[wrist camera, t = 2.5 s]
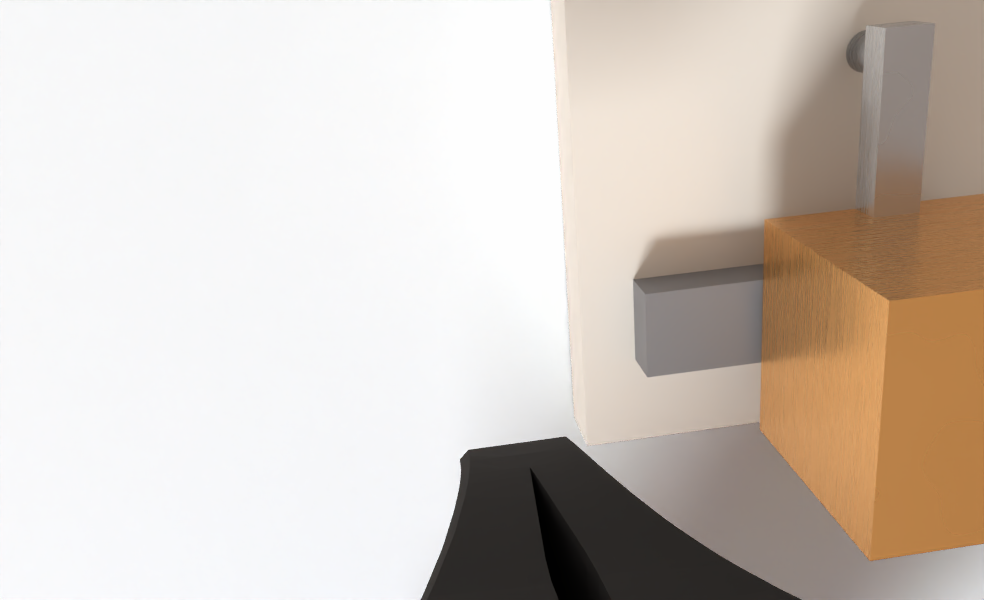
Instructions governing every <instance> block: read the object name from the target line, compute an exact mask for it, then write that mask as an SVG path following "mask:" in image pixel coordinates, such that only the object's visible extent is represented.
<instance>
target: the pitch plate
mask: <svg viewBox="0 0 984 600" xmlns="http://www.w3.org/2000/svg"><path fill="white" fill-rule="evenodd" d="M551 15H552V33H553V51H554V68H555V86H556V104H557V121H558V139H559V157H560V175H561V192H562V210H563V228H564V245H565V263H566V281H567V299H568V316H569V334H570V352H571V369H572V387H573V405H574V418H575V420H576V423H577V425H578V427H579V429H580V431H581V434H582V436H583V438H584V440H585V442H586V444H587V446H591V445H599V444H606V443H613V442H620V441H628V440H635V439H642V438H650V437H657V436H664V435H671V434H679V433H686V432H693V431H700V430H708V429H715V428H722V427H729V426H737V425H744V424H751V423H758V422H760V392H761V349H762V306H763V262H764V219H772V218H780V217H789V216H797V215H806V214H814V213H823V212H831V211H840V210H848V209H855V204H856V187H857V170H858V153H859V136H860V119H861V102H862V84H863V73H860V72H857V71H855V70H853V69H852V68H851V67H850V66H849V64H848V62H847V59H846V50H847V46H848V44H849V42H850V40H851V39H852V38H853V37H854V36H855V35H856V34H857V33H859V32H861V31H863V30H866V25H876V24H886V23H896V22H906V21H921V22H929V23H935V34H934V46H933V58H932V69H931V81H930V93H929V105H928V117H927V129H926V141H925V153H924V165H923V177H922V188H921V200H920V201H925V200H933V199H942V198H951V197H959V196H968V195H976V194H984V0H551Z"/></svg>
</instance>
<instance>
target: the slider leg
mask: <svg viewBox="0 0 984 600" xmlns="http://www.w3.org/2000/svg"><path fill="white" fill-rule="evenodd" d="M934 34H935V23H929V22H921V21H906V22H896V23H886V24H876V25H866V30H863V31H861V32H859V33H857V34H856V35H855V36H854V37H853V38H852V39H851V40H850V42H849V44H848V46H847V50H846V59H847V62H848V64H849V66H850V67H851V68H852V69H853V70H855V71H857V72H860V73H863V84H862V102H861V119H860V136H859V153H858V170H857V187H856V204H855V209H848V210H840V211H831V212H823V213H814V214H806V215H797V216H789V217H780V218H772V219H764V262H763V306H762V349H761V392H760V430H761V432H762V433H763V434H764V435H765V436H766V438H767V439H768V440H769V441H770V442H771V444H772V445H773V446H774V447H775V448H776V450H777V451H778V452H779V453H780V454H781V455H782V457H783V458H784V459H785V460H786V461H787V463H788V464H789V465H790V466H791V467H792V469H793V470H794V471H795V472H796V473H797V475H798V476H799V477H800V478H801V479H802V481H803V482H804V483H805V484H806V485H807V487H808V488H809V489H810V490H811V491H812V492H813V494H814V495H815V496H816V497H817V498H818V500H819V501H820V502H821V503H822V504H823V506H824V507H825V508H826V509H827V510H828V512H829V513H830V514H831V515H832V516H833V518H834V519H835V520H836V521H837V522H838V524H839V525H840V526H841V527H842V528H843V530H844V531H845V532H846V533H847V534H848V535H849V537H850V538H851V539H852V540H853V541H854V543H855V544H856V545H857V546H858V547H859V549H860V550H861V551H862V552H863V553H864V555H865V556H866V557H867V558H868V559H869V561H874V560H880V559H887V558H893V557H900V556H906V555H913V554H919V553H926V552H932V551H939V550H945V549H952V548H958V547H965V546H971V545H978V544H984V194H976V195H968V196H959V197H951V198H942V199H933V200H925V201H920V200H921V188H922V177H923V165H924V153H925V141H926V129H927V117H928V105H929V93H930V81H931V69H932V58H933V46H934Z"/></svg>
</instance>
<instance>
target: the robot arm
mask: <svg viewBox="0 0 984 600" xmlns="http://www.w3.org/2000/svg"><path fill="white" fill-rule="evenodd" d="M460 463H461V480H460V487H459V492H458V497H457V501H456V506H455V510H454V513H453V516H452V520H451V523H450V526H449V529H448V533H447V536H446V539H445V542H444V545H443V548H442V551H441V553H440V556H439V558H438V560H437V563H436V565H435V568H434V570H433V572H432V575H431V577H430V580H429V582H428V584H427V587H426V589H425V592H424V594H423V596H422V598H421V600H801V599H799V598H797V597H795V596H793V595H791V594H789V593H787V592H785V591H783V590H781V589H779V588H777V587H775V586H773V585H771V584H769V583H768V582H766V581H764V580H762V579H760V578H758V577H757V576H755V575H753V574H751V573H749V572H747V571H746V570H744V569H742V568H740V567H738V566H736V565H735V564H733V563H731V562H730V561H728V560H726V559H725V558H723V557H721V556H720V555H718V554H716V553H715V552H713V551H711V550H710V549H708V548H707V547H705V546H704V545H702V544H701V543H699V542H698V541H696V540H695V539H693V538H692V537H690V536H689V535H687V534H686V533H684V532H683V531H681V530H680V529H678V528H677V527H675V526H674V525H673V524H671V523H670V522H669V521H667V520H666V519H664V518H663V517H662V516H660V515H659V514H658V513H657V512H655V511H654V510H653V509H651V508H650V507H649V506H648V505H646V504H645V503H644V502H642V501H641V500H640V499H639V498H637V497H636V496H635V495H633V494H632V493H631V492H630V491H629V490H627V489H626V488H625V487H624V486H623V485H621V484H620V483H619V482H618V481H617V480H615V479H614V478H613V477H612V476H611V475H610V474H608V473H607V472H606V471H605V470H604V469H603V468H602V467H600V466H599V465H598V464H597V463H596V462H595V461H594V460H592V459H591V458H590V457H589V456H588V455H587V454H586V453H585V452H583V451H582V450H581V449H580V448H579V447H578V446H576V445H575V444H574V443H573V442H572V441H570V440H569V439H568V438H567V437H559V438H552V439H545V440H537V441H530V442H523V443H515V444H508V445H501V446H494V447H486V448H479V449H472V450H468V451H467V452H466V453H465V454H464V456H463V457H462V458H461V459H460Z"/></svg>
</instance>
